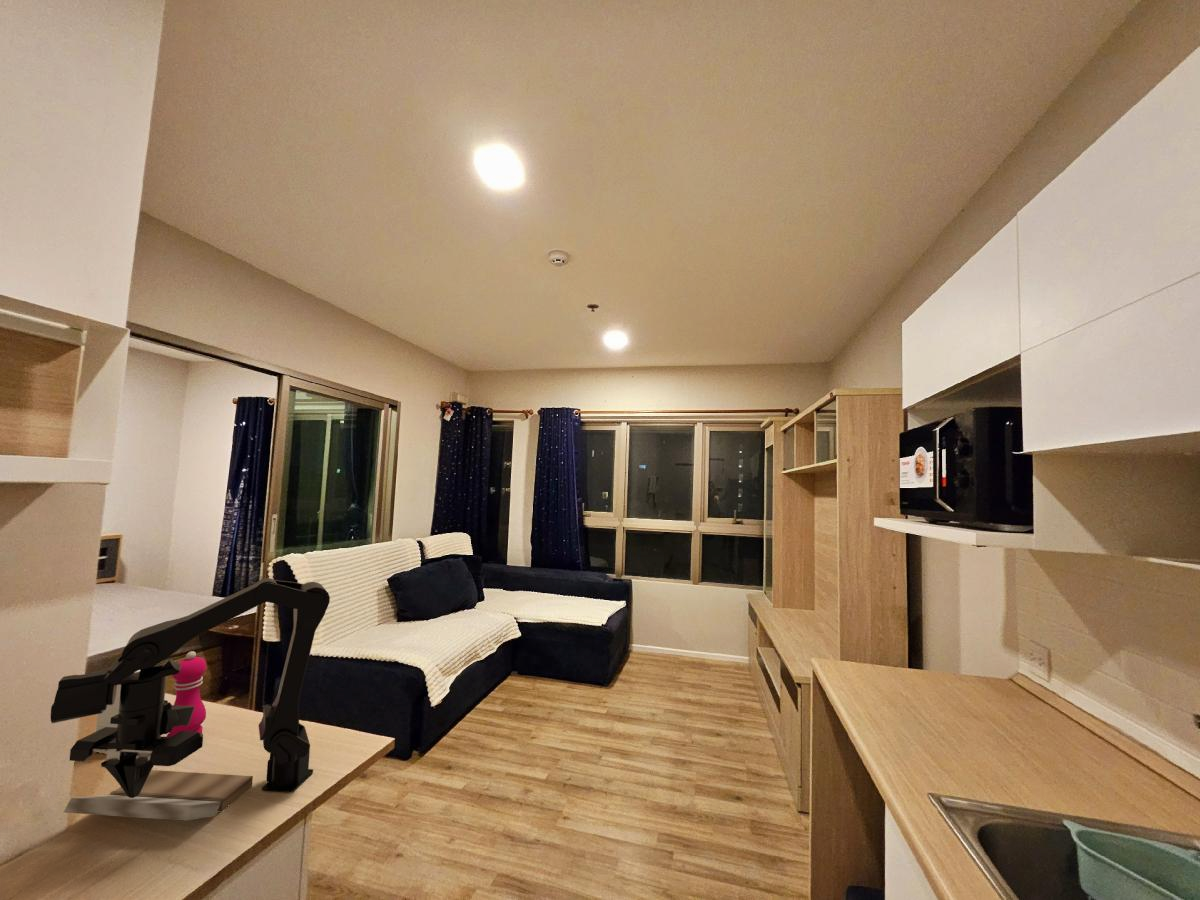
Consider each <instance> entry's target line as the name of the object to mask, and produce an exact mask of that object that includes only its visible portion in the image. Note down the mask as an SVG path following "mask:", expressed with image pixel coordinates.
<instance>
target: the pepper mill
mask: <svg viewBox="0 0 1200 900" xmlns="http://www.w3.org/2000/svg"><path fill="white" fill-rule="evenodd" d="M178 663H179V664H181V668H180V672H179V673H178V674H176V675H172V678H173V679H174V680H175V682H174V687H173V688H174V690H176V693H175V694H176V696H175V700H174V703H173V705H182V706H195V708H194V711H193V714H192V717H191V719H190V722H189V725H187V726H184V725H180V726H175V727H173V729H172V731H171V732H169V733H167V734H166V737H172V736H174V735H175V734H177V733H179V732H180V731H187V732H199V733H201V734H203V725H202V724H203V723H204V721H205V720H206V718H207V709H206V707H205V705H204V703H203V701H202V698H201V695H200V693H201V692H200V688H201V686H202V684H203V682H204V681H203V680H204V679H203V678H204V677H203V675H204V673H205V672H206V670H207V666H208V664H207V662H206V660H205V658H203V657H199V656H197V653H196V651H194V650H193V651H191V650H190V651H189V652H188V653H187V654H186V655H185V659H183V660H180V661H179V662H178Z"/></svg>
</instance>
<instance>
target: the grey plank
mask: <svg viewBox="0 0 1200 900" xmlns="http://www.w3.org/2000/svg"><path fill="white" fill-rule="evenodd" d="M220 804H221V802H216V801H200V800H184V799H168V798H152V797H134V798H129V797H128V796H120V795H110V794H102V795H101V794H99V795H91V796H90V795H88V796H80V797H79V796H75V797H71V798H70V800H69V801H68V803H67V805H66V807H65V809H64V810H63V813H66V814H80V815H98V816H112V817H113V816H114V817H127V818H142V819H144V818H145V819H158V820H173V821H174V820H176V821H191V820H197V819H205V818H209V817H216V816H217V814H218V812H217V811H218V809H219V806H220Z"/></svg>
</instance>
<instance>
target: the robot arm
mask: <svg viewBox="0 0 1200 900" xmlns="http://www.w3.org/2000/svg"><path fill="white" fill-rule="evenodd" d="M330 601H331V596H330V594H329V592H328V591H327V590H326V588H325V587H324V586H323V585H322V584H321V583H319V582H316V581H308V582H306V583H301V582H300V583H299V582H295V581H294V582H293V581H287V580H278V579H273V578H270V577H264V578H262V579H260V580H258V581H256V582H255V583H253V584H252V585H249V586H248V587H245V588H243V589H241V590H239V591H237V592H234V593H232V594H230V595H228V596H226V597H224V598H222V599H220V600H218V601H216V602H214V603H212V604H209V605H207V606H205V607H203V608H200V609H198V610H197V611H195V612H193V613H190V614H188V615H186V616H183V617H179V618H175V619H170V620H166V621H163V622H160V623H157V624H155V625H151V626H148V627H145V628H142V629H140V630H139V631H137V632H135V633H134V634H132V636H131V637H130V638H129V639H128V641H127V643H126V645H125V646H124V649H123V651H122V653H121V655H120V657H118V659H117V660H116V661H115V660H114V661H113V662H112V664H111V666H110V667H109V670H103V671H102V670H101V671H98V672H97V671H96V672H90V673H85V674H73V675H72V674H71V675H65V676H62V677H61V678H60V680H59V681H58V685H57V690H56V693H55V696H54V700H53V704H52V705H51V707H50V722H51V724H56V723H60V722H65V721H66V722H67V721H71V720H75V719H80V718H84V717H90V716H95V715H98V714H100V713H103V712H104V710H106V708H107V705H113V704H114V701H115V697H116V690H117V685H120V684H121V691H120V702H119V713H118V714H117V715H115V716H113V717H111V721H110V724H117V728H116V727H105V728H102V729H100V730H98V731H96V730H95V731H94V732H93V733H91V734H89V735H86V736H84V737H81V739H78V740H76V742H75V743H74V745H73V746H72V747H71V748H70V749H69V750H70V751H69V761H73V762H85V761H88V760H89V759H90V758H91V757H92V756H93V753H94V749H104V750H105V753H107V754H106V759H105V760H104V761H103V762H101V763H100V766H101V768H104V769H106V770H107V771H108V773H109V774H110V775H111V776H112V778H114V780H115V781H116V782H117V784H119V786H120V787H122V789H123V790H124V791H125V793H126V794H127V796H128V797H129V798H134V797H136V796H137V795H139V794H140V792H141V790H142V788H143V786H144V784H145V782H146V780H147V778H148V776H149V774H150V771H151V770H153V768H154V766H156V767H157V766H159V767H171V766H175V765H177V764H178V763H180V762H182V761H183V760H184V759H186V758H188V757H189V756H190V755H192V754H194V753H196V752H197V751H198V750H200V749H201V748H203V746H204V745H203V743H204V742H203V741H204V734H203V733H202V734H201V733H199V732H187V731H180V732H179V733H177V734H175V735H174V736H172V737H167V736H163V735H168V734H169V732H171V731H172V729H173V727H175V726H180V725H184V726H187V725H189V722H190V719H191V717H192V714H193V711H194V708H195V706H182V705H174V704H172V703H171V702H169V701H168V700H167V699H166V700H165V697H166V687H167V685H166V684H167V677H169V676H170V677H171V676H173V675H176V674H178V673H179V672H180V668H181V664H179V662H176V661H174V660H173V659H172V657H170V656H172V655H173V654H175V653H176V652H178V651H180V649H181V648H182V647H184V646H185V645H186V644H187V643H189V642H190V641H192V640H193V639H195V638H196V637H198V636H200V635H202V634H204V633H207V632H208V631H210V630H212V629H214V628H216V627H218V626H220V625H222V624H224V623H227V622H228V621H230V620H232V619H234V618H236V617H239V616H240V615H242V614H244V613H246V612H248V611H250V610H252V609H254V608H256V607H258V606H261V605H262V604H264V603H271V604H274V605H275V604H276V605H279V606H282V607H285V608H290V609H293V628H292V634H291V637H290V641H289V646H288V650H287V653H286V657H285V658H286V659H285V661H284V666H283V671H282V675H281V678H280V682H279V687H278V690H277V695H276V697H275V698H274V701H273V703H272V704H271V705H263V710H262V711H263V712H262V718H261V721H260V722H259V723H258V731H259V732H258V734H259V740H260V741H262V743H263V749H264V750H265V751H266V752H267V753H269V759H268V760H267V767H266V782H267V783H265V784H264V785H262V787H261V791H263V792H264V791H265V792H276V793H277V792H278V793H279V792H280V793H293V792H295V790H296V789H298V788H299V787H300V785H302V784H303V783H304V782H305V781H306V780H307V779H308V778H309V777H310V776H311V775H313V773H314V769H313V768H312V769H311V768H309V766H310V754H311V753H310V752H311V751H310V750H311V743H310V740H309V737H308V733H307V729H306V726H305V725H303V724H301V723H300V697H301V693H302V689H303V684H304V680H305V675H306V671H307V668H308V664H309V658H310V654H311V651H312V646H313V641H314V638H315V633H316V631H317V629H318V628H319V625H320V623H321V622H322V621H323V618H324V616H325V614H326V612H327V610H328V608H329V605H330ZM167 658H168V659H167ZM166 659H167V660H166ZM164 660H165V661H164ZM163 661H164V662H163ZM161 662H163V663H161ZM160 663H161V664H160ZM138 670H140V671H139V672H136V671H138ZM135 672H136V673H135Z"/></svg>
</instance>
